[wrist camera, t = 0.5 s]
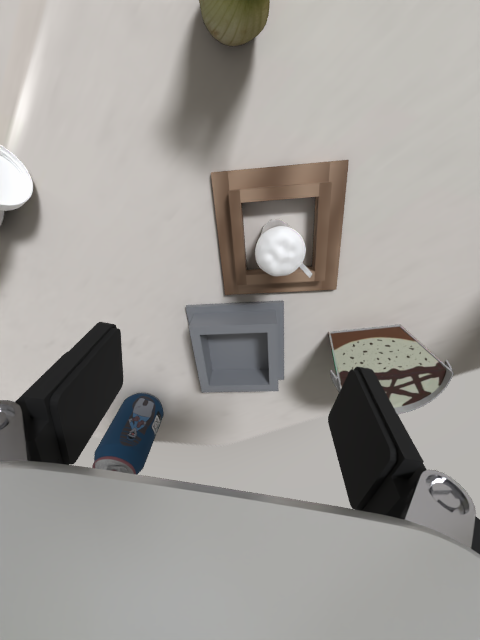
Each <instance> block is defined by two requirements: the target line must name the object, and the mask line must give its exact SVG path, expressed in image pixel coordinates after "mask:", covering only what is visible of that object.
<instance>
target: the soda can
mask: <svg viewBox="0 0 480 640" xmlns="http://www.w3.org/2000/svg"><path fill="white" fill-rule="evenodd" d="M162 418H163V408H162V405H161V402H160V401H159V400H158V399H157V398H156V397H155V396H153V395H151V394H148V393H136V394H134V395H132V396H130V397H128V398H127V399H125V400H124V402H123V404H122V405H121V407H120V409H119V411H118V412H117V414H116V416H115V418H114V419H113V421H112V423H111V425H110V426H109V428H108V430H107V432H106V433H105V435H104V437H103V439H102V440H101V442H100V444H99V446H98V447H97V449H96V451H95V458H94V460H95V461H94V464H93V468H95V469H103V470H110V471H116V472H123V473H129V474H136V475H137V474H138V473H139V472H140V471H141V470H142V469H143V467H144V464H145V462H146V459H147V457H148V454H149V451H150V449H151V446H152V443H153V441H154V439H155V436H156V433H157V431H158V428H159V426H160V423H161V420H162Z"/></svg>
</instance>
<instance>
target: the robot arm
mask: <svg viewBox="0 0 480 640" xmlns="http://www.w3.org/2000/svg"><path fill="white" fill-rule="evenodd" d="M122 384H123V367H122V349H121V332H120V329H117V328H116V325H114V324H109V323H104V322H99V323H97V324H96V325H95V326H94V327H93V328H92V329H91V330H90V331H89V332H88V333H87V334H86V335H85V336H84V337H83V338H82V339H81V340H80V341H79V342H78V343H77V344H76V345H75V346H74V347H73V348H72V349H71V350H70V351H68V352H67V353H65V354H64V355H63V356H62V357H61V358H60V359H59V360H58V361H57V362H56V363H55V364H54V365H53V366H52V367H51V368H50V369H49V370H48V371H46V372H45V373H44V374H43V375H42V376H41V377H40V378H39V379H38V380H37V381H36V382H35V383H34V384H33V385H32V386H31V387H30V388H29V389H28V390H27V391H26V392H25V393H24V394H23V395H22V396H21V397H20V398H19V399H18V400H17V401H16V402H13V401H9V400H0V640H480V520H479V519H478V518H477V517H476V511H475V506H474V503H473V501H472V499H471V497H470V496H469V495H468V493H467V492H466V491H465V489H464V488H463V487H462V486H461V485H460V484H459V483H457V482H456V481H455V480H453V479H452V478H451V477H449V476H447V475H445V474H444V473H442V472H439V471H436V470H426V468H425V466H424V464H423V460H422V458H421V456H420V455H419V453H418V451H417V449H416V447H415V445H414V444H413V442H412V440H411V438H410V436H409V434H408V433H407V431H406V429H405V427H404V425H403V424H402V422H401V420H400V418H399V416H398V415H397V413H396V411H395V409H394V407H393V405H392V404H391V402H390V400H389V398H388V396H387V395H386V393H385V391H384V389H383V387H382V386H381V384H380V382H379V380H378V378H377V376H376V375H375V373H374V371H373V370H372V369H369V368H363V367H356V368H355V369H351V370H350V371H349V373H348V375H347V378H346V380H345V382H344V384H343V386H342V388H341V390H340V392H339V394H338V397H337V399H336V401H335V403H334V405H333V407H332V409H331V411H330V414H329V417H328V422H329V427H330V431H331V434H332V438H333V442H334V446H335V449H336V453H337V457H338V461H339V464H340V468H341V472H342V475H343V479H344V483H345V486H346V490H347V494H348V498H349V502H350V505H351V507H352V508H353V509H348V508H343V507H338V506H331V505H325V504H319V503H313V502H307V501H301V500H295V499H289V498H283V497H276V496H270V495H264V494H258V493H252V492H245V491H239V490H232V489H226V488H220V487H214V486H207V485H201V484H195V483H188V482H182V481H175V480H169V479H162V478H156V477H149V476H142V475H136V474H129V473H123V472H116V471H110V470H103V469H95V468H88V467H80V466H72V465H69V464H74V463H75V462H76V460H77V459H78V457H79V456H80V454H81V452H82V451H83V449H84V448H85V446H86V444H87V443H88V441H89V439H90V438H91V436H92V435H93V433H94V431H95V430H96V428H97V426H98V425H99V423H100V422H101V420H102V418H103V417H104V415H105V414H106V412H107V410H108V409H109V407H110V405H111V404H112V402H113V401H114V399H115V397H116V396H117V394H118V392H119V391H120V389H121V387H122ZM354 509H355V510H354Z"/></svg>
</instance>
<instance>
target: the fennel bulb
mask: <svg viewBox="0 0 480 640" xmlns="http://www.w3.org/2000/svg"><path fill="white" fill-rule="evenodd" d="M199 3H200V8H201V14H202V18H203V21H204V24H205V25H206V27H207V29H208V31H209V32H210V34H211V35H212V36H213V37H214V38H215V39H216V40H218V41H219V42H221V43H222V44H224V45H228V46H238V45H242V44H245V43H247V42H249V41H250V40H252V39H253V38H255V37H256V36H257V35H258V34H259V33H260V32H261V31H262V30H263V28H264V26H265V25H266V21H267V17H268V13H269V3H270V2H269V0H199Z"/></svg>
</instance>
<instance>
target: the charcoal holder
mask: <svg viewBox="0 0 480 640" xmlns="http://www.w3.org/2000/svg"><path fill="white" fill-rule="evenodd" d="M186 312H187V317H188V322H189V331H190V336H191V341H192V346H193V351H194V356H195V361H196V366H197V371H198V376H199V381H200V386H201V391H202V392H254V391H278V380H284V302H283V301H267V302H245V303H224V304H203V305H186Z"/></svg>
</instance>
